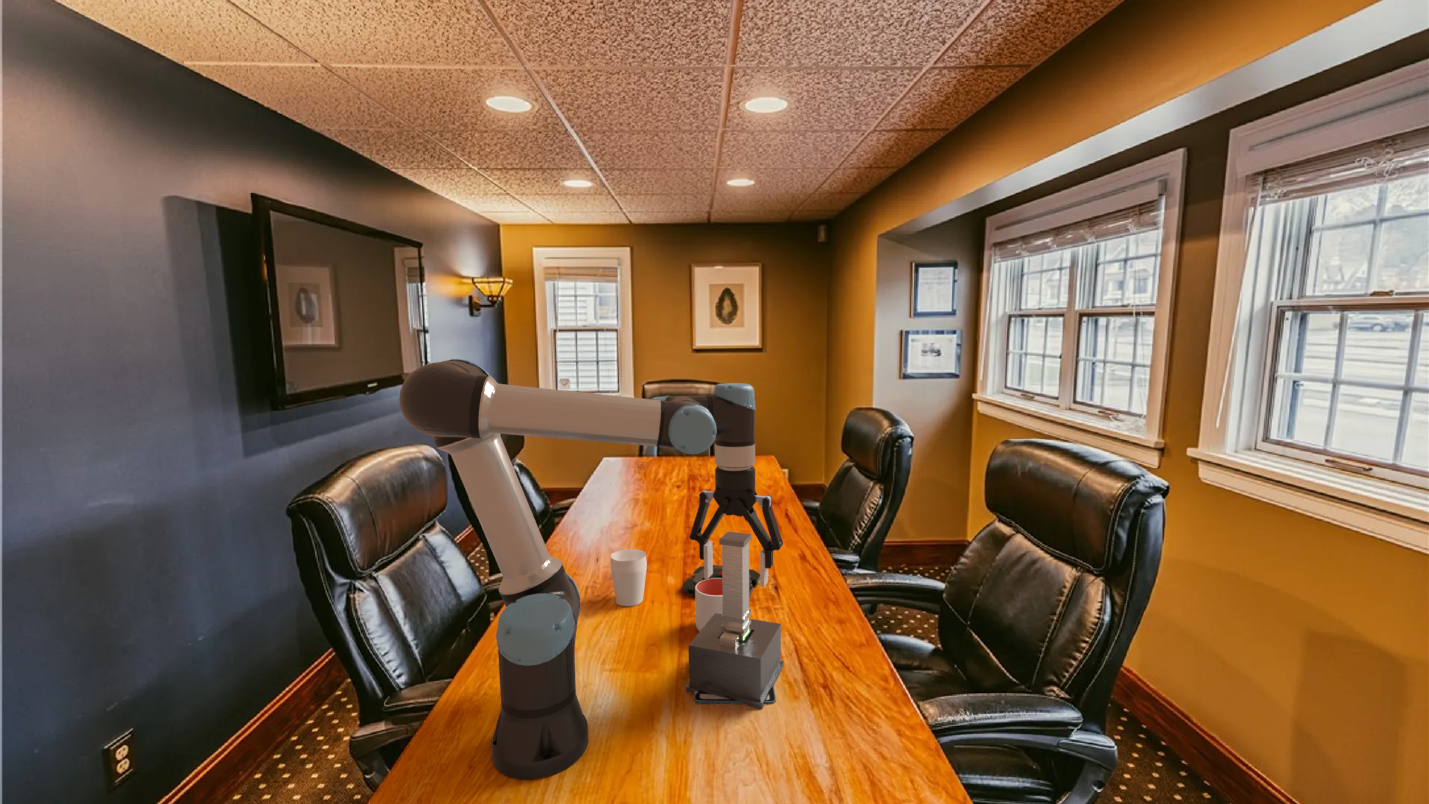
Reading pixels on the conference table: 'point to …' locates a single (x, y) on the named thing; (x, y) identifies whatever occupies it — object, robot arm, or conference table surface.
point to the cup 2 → (708, 600)
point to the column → (736, 584)
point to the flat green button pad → (717, 573)
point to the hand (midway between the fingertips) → (735, 579)
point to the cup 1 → (628, 576)
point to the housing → (736, 662)
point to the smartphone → (712, 699)
